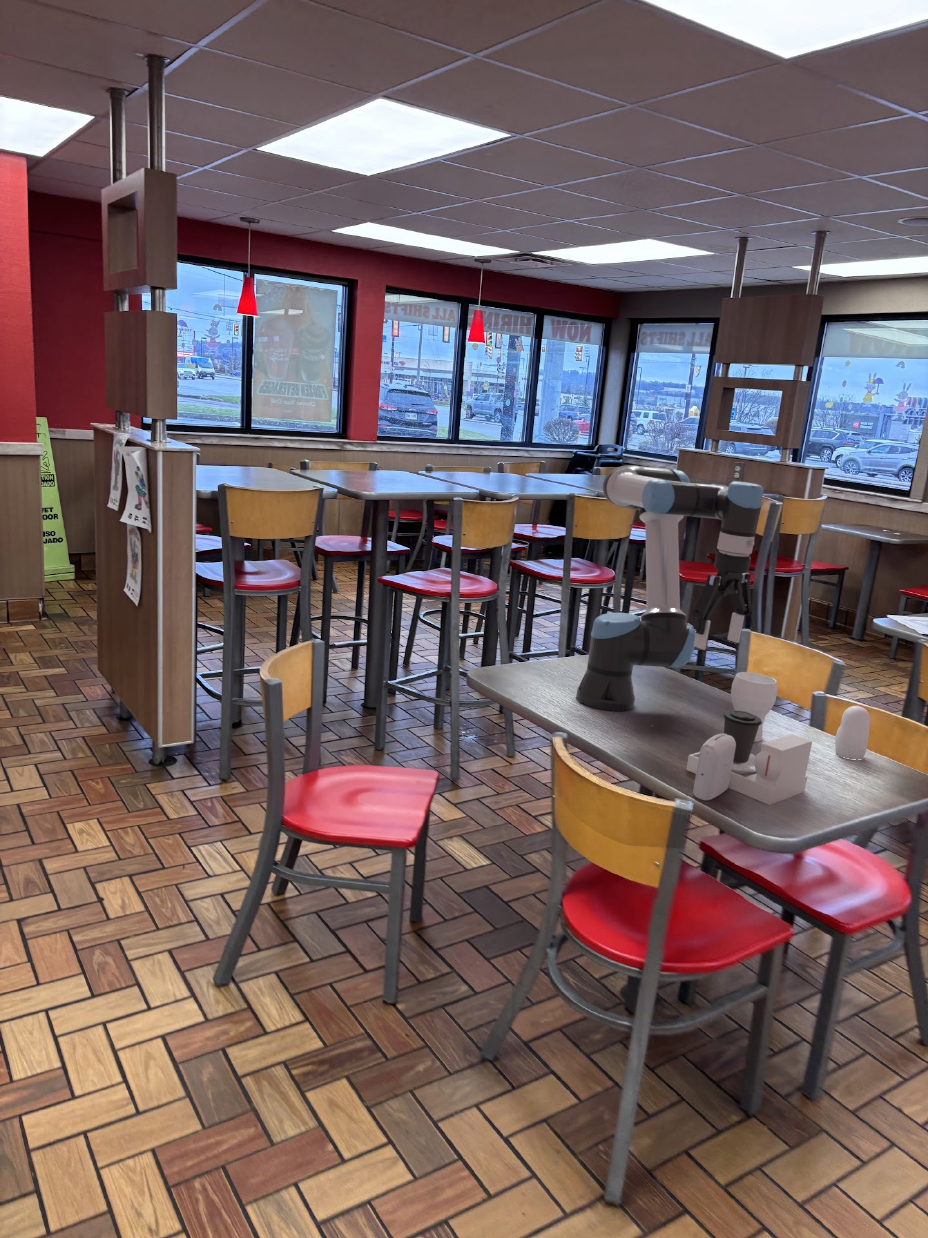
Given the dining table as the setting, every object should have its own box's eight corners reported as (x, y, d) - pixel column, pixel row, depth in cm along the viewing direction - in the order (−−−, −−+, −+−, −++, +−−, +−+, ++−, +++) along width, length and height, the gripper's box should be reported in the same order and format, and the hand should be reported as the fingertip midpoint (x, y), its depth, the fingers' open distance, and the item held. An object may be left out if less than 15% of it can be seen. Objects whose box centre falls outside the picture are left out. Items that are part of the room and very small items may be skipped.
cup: (770, 747, 216) (782, 687, 213) (725, 740, 218) (735, 680, 215) (765, 733, 226) (776, 675, 223) (721, 726, 228) (731, 669, 225)
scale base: (686, 769, 196) (694, 719, 193) (722, 758, 205) (730, 710, 202) (773, 806, 181) (783, 753, 178) (807, 792, 190) (818, 741, 188)
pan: (693, 767, 195) (695, 753, 195) (724, 757, 203) (726, 744, 203) (742, 787, 187) (744, 773, 186) (772, 776, 195) (775, 762, 194)
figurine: (863, 753, 219) (873, 706, 216) (866, 763, 212) (876, 715, 209) (832, 747, 221) (841, 700, 218) (834, 757, 214) (844, 709, 211)
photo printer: (709, 803, 179) (719, 744, 176) (689, 795, 182) (699, 737, 179) (730, 790, 187) (741, 733, 184) (711, 783, 190) (721, 727, 187)
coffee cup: (734, 766, 189) (743, 721, 187) (707, 752, 196) (715, 708, 194) (762, 763, 193) (771, 719, 191) (735, 749, 200) (743, 706, 198)
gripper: (716, 559, 190) (698, 655, 195) (778, 553, 206) (760, 643, 211) (686, 551, 195) (670, 645, 200) (749, 547, 211) (732, 634, 217)
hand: (716, 644), depth 206 cm, fingers open, 13 cm apart
